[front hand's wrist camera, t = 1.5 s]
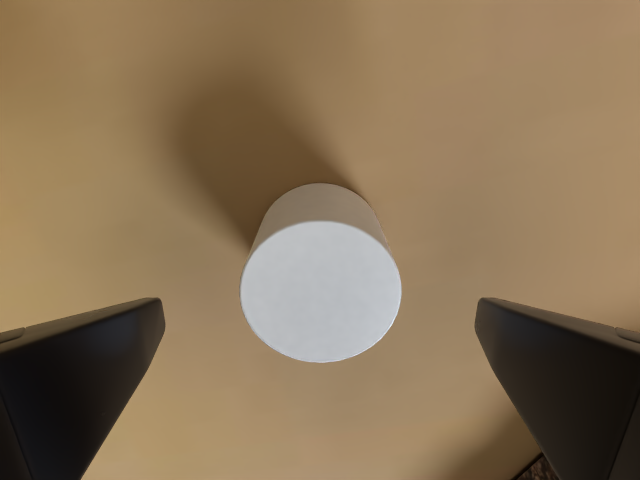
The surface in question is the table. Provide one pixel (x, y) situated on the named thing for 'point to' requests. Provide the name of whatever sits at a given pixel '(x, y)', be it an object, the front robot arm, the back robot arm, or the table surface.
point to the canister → (320, 276)
